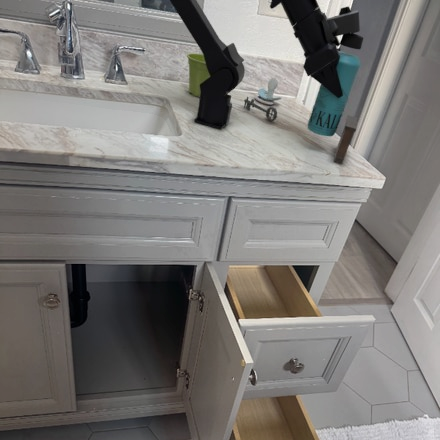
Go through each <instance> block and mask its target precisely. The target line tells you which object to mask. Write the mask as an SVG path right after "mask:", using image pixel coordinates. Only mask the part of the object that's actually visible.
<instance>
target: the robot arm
mask: <svg viewBox="0 0 440 440" xmlns="http://www.w3.org/2000/svg"><path fill="white" fill-rule="evenodd" d="M169 2H170V3H171V5H172V6H173V7H174V9H175V11H176V13H177V14H178V16H179V18H180V19H181V21H182V22H183V24H184V25H185V27H186V29H187V31H188V32H189V33H190V35H191V37H192V38H193V40H194V42H195V43H196V45H197V46H198V48H199V50H200V52H201V54H203V55H204V59H205V63H206V67H207V70H208V72H209V75H210V77H209V78H208V79H206V80H205V81H204V82H202V83H201V84H200V91H201V93H200V97H199V101H198V107H197V115H196V117H195V118H194V119H193V122H195V123H198V124H201V125H205V126H209V127H211V128H215V129H217V130H222V129H223V128H224V127H225V126H226V125H228V124H229V122H230V119H231V114H232V108H233V104H232V103H231V102H232V101H231V100H232V95H231V94H229V93H231V92H232V91H234V90H235V89H236V88H237V87H238V86H239V85H240V83H242V81H243V79H244V78H245V72H246V69H245V65H244V61H245V59H244V58H243V57H242V56H241V54H240V53H239V52H238V49H237V46H236V45H235V43H234V42H231V43H229V44H228V45H226V44H225V42H224V41H222V40H221V38H220V37H219V35H218V34H217V32H216V30H215V29H214V27H213V25H212V24H211V22H210V20H209V19H208V17H207V15H206V14H205V12H204V10H203V9H202V7H201V5H200V3H199V2H198V0H169ZM279 5H281V8H282V10H283V11H284V13H285V14H286V17H287V19H288V21H289V23H290V26H291V27H292V30H293V35H294V37H295V39H297V40H298V42H299V45H300V47H301V48H302V50H303V56H304V58H305V59H304V63H303V69H304V71H305V74H306V75H307V77H311V78H313V79H314V80H315V81H316V82H318V84H319V85H321V84H322V85H323V86H324V87H325V88H327V89H328V90H329V91H330V92H331V93H333V94H334V95H335V96H336V97H337V98H340V97H342V96H343V91H342V87H341V83H340V79H339V76H338V72H337V65H338V62H339V60H340V55H339V52H338V51H341V47H339V46H341V44H340V41H339V38H338V37H340V36H343V34H347V33H353V34H357V33H359V32H360V31H361V26H360V11H359V10H353V11H352V10H351V7H350V6H344V7H341V8H340V9H339V13H338V15H334V16H331V17H327V14H326V12H323V11H322V10H321V7H320V5H319V3H318V1H317V0H271V2H270V4H269V8H270V9H272V10H273V9H275V8H276V7H278V6H279Z"/></svg>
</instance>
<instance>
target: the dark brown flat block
mask: <svg viewBox="0 0 440 440" xmlns="http://www.w3.org/2000/svg"><path fill="white" fill-rule="evenodd" d="M357 125H358V117H357V116H352V115H349V114H348V115H347V116H346V119H345V124H344V127H343V130H342V132H341V135H340V138H339V141H338V144H337V146H336V149H335V153H334V159H333V163H335V164H339V165H342V164H343V162H344V160H345V157H346V154H347V151H348V149H349V147H350V144H351V141H352V138H353V136H354V133H356V131H357Z"/></svg>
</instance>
